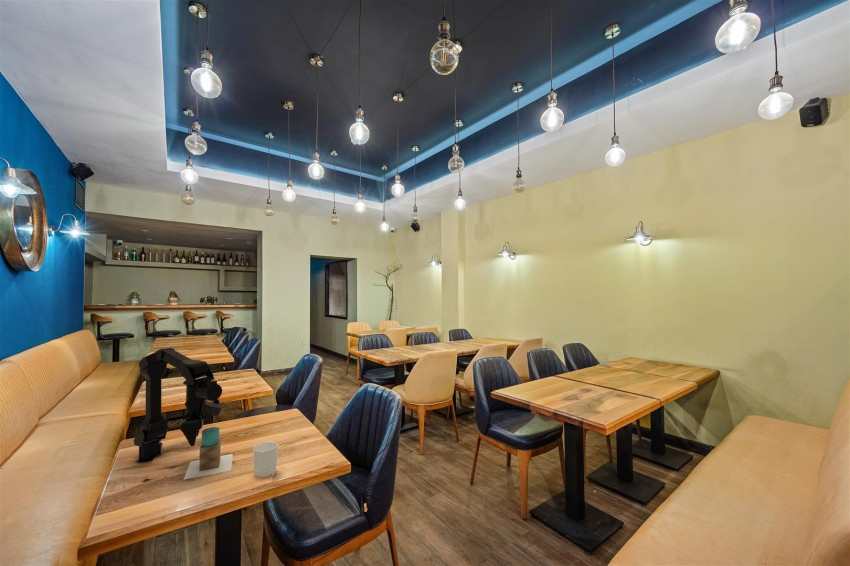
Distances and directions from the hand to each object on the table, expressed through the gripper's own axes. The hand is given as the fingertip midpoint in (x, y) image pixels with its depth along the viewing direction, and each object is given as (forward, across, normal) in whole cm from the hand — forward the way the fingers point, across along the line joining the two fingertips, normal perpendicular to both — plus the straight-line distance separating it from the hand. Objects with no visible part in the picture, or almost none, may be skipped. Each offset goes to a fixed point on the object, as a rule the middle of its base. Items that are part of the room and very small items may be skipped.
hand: (194, 440), depth 125 cm
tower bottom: (+10, 0, -5) cm, 11 cm away
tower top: (+6, 0, -5) cm, 8 cm away
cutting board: (+11, 0, -5) cm, 12 cm away
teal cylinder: (+2, 0, -5) cm, 5 cm away
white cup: (+11, -14, -23) cm, 29 cm away
